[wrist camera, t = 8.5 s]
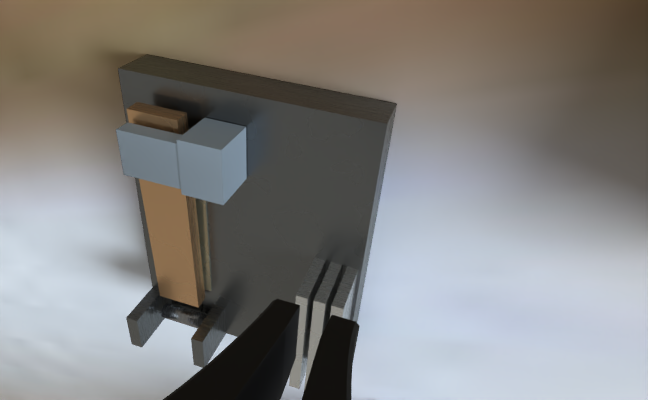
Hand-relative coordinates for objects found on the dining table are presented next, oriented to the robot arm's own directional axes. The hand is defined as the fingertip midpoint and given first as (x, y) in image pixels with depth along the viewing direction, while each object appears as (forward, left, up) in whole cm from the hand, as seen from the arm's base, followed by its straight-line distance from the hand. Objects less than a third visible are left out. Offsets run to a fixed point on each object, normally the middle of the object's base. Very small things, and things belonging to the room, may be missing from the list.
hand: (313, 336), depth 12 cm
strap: (-5, +9, -8) cm, 13 cm away
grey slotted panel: (-5, +6, -10) cm, 12 cm away
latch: (0, +8, -8) cm, 11 cm away
